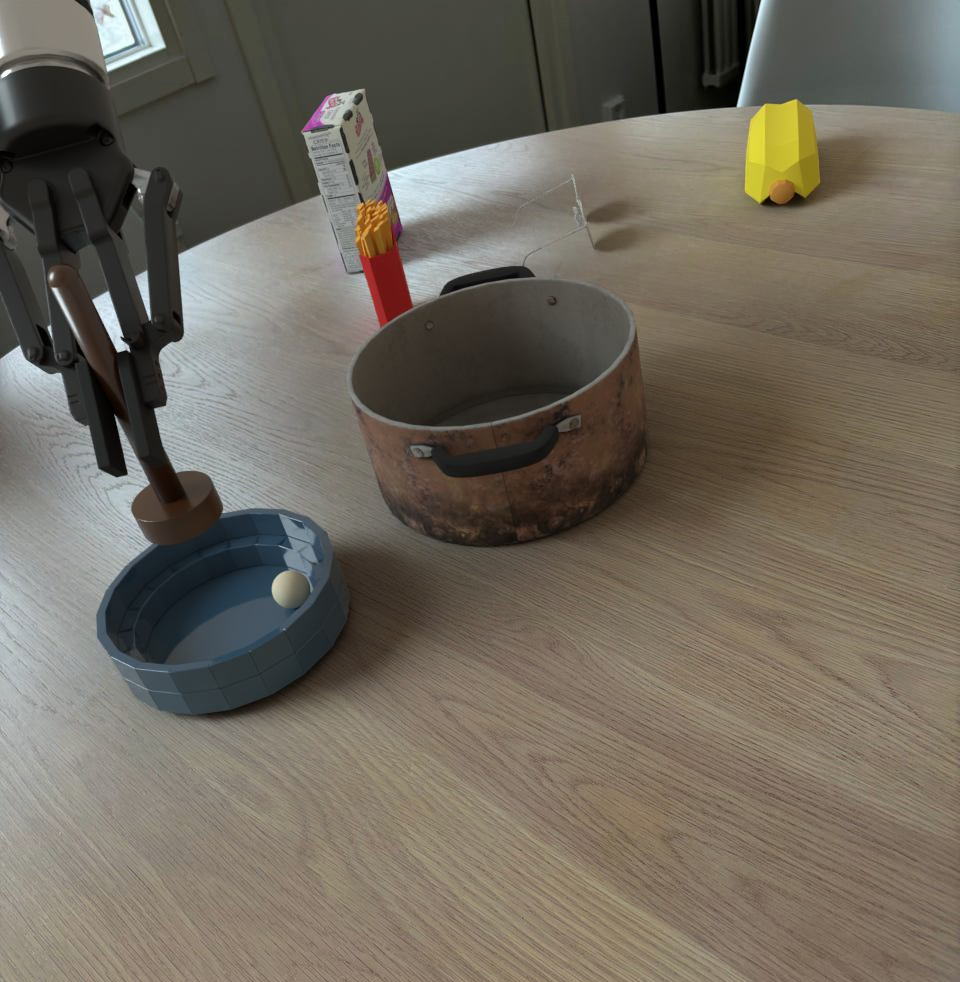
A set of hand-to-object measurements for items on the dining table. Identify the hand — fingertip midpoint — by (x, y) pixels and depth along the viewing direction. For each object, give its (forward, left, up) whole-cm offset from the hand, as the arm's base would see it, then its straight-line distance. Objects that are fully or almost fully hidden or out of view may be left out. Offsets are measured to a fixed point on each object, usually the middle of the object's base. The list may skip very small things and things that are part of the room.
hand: (133, 466), depth 63 cm
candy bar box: (+26, +65, -18) cm, 72 cm away
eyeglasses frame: (+44, +52, -18) cm, 70 cm away
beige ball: (+5, +4, -15) cm, 17 cm away
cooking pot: (+26, +13, -18) cm, 34 cm away
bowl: (+1, +4, -18) cm, 18 cm away
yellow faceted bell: (+70, +48, -18) cm, 86 cm away
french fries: (+24, +45, -18) cm, 54 cm away
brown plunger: (+1, +4, -7) cm, 8 cm away
